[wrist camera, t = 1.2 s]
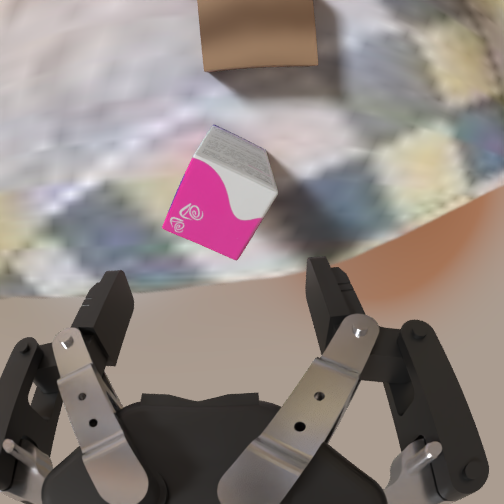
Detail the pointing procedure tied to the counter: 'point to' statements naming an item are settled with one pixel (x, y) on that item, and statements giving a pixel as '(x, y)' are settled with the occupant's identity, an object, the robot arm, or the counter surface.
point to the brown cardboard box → (257, 34)
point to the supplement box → (223, 194)
